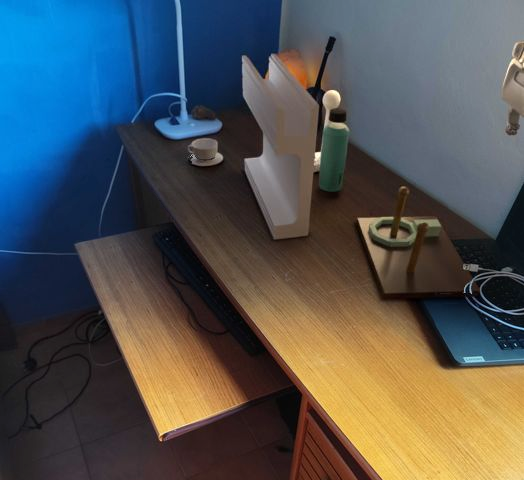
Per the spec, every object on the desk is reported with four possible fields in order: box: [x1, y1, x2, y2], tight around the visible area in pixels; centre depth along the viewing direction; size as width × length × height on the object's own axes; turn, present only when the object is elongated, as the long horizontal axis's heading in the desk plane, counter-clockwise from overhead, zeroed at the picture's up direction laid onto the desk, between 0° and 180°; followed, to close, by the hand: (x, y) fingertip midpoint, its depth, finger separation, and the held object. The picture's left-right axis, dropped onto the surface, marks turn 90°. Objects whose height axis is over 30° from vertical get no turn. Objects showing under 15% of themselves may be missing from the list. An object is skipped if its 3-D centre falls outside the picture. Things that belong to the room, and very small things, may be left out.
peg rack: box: [356, 186, 481, 300], centre depth 97 cm, size 19×28×13 cm
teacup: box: [187, 137, 224, 167], centre depth 132 cm, size 10×10×5 cm
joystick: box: [313, 89, 341, 173], centre depth 123 cm, size 11×8×20 cm
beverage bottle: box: [318, 107, 350, 193], centre depth 114 cm, size 6×7×20 cm
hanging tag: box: [369, 216, 442, 247], centre depth 104 cm, size 15×10×2 cm
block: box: [241, 53, 320, 240], centre depth 108 cm, size 35×8×28 cm, turn 13°
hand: (520, 144), depth 85 cm, fingers open, 8 cm apart
